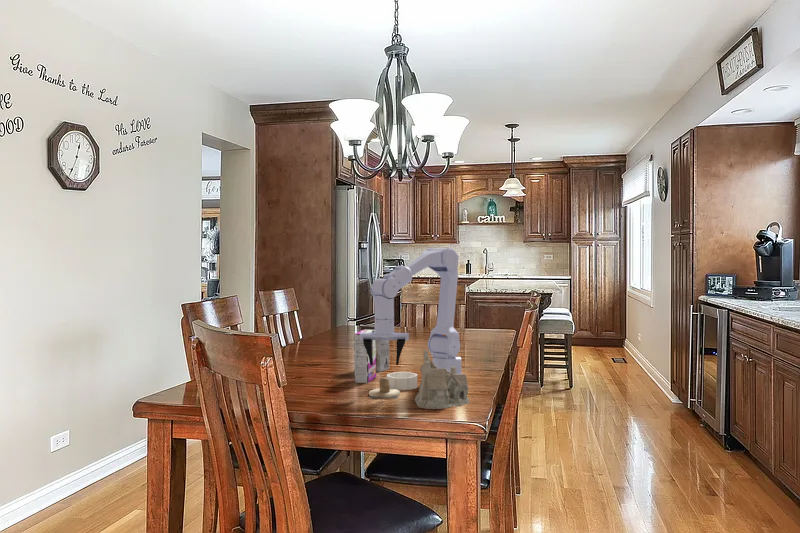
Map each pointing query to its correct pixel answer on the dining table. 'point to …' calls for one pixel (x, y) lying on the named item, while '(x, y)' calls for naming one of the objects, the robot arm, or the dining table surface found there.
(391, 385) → the bowl
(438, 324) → the robot arm
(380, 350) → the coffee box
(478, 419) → the dining table surface
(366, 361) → the candy bar box
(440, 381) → the ceramic cottage
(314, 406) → the dining table surface
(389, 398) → the mat
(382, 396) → the lid
